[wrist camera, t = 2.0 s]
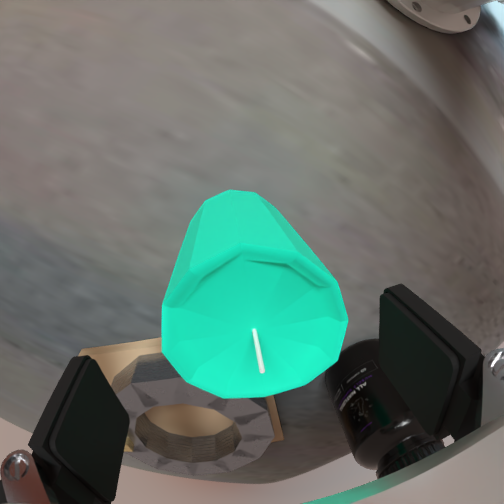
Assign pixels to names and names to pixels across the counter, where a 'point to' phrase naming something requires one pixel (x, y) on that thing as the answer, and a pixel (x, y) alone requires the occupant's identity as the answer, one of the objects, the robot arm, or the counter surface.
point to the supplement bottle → (375, 413)
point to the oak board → (178, 415)
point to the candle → (249, 302)
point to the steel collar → (183, 447)
